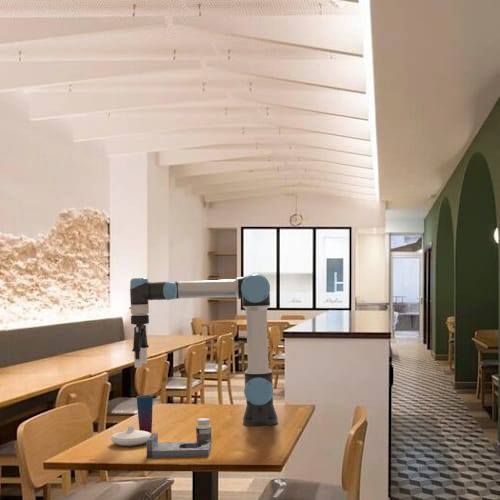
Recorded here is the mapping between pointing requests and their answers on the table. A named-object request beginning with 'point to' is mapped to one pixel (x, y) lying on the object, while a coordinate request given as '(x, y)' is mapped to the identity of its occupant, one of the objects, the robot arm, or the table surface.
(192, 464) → the table surface
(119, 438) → the lid
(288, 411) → the table surface
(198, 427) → the pill bottle
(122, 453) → the table surface
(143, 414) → the cup
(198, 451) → the jig
